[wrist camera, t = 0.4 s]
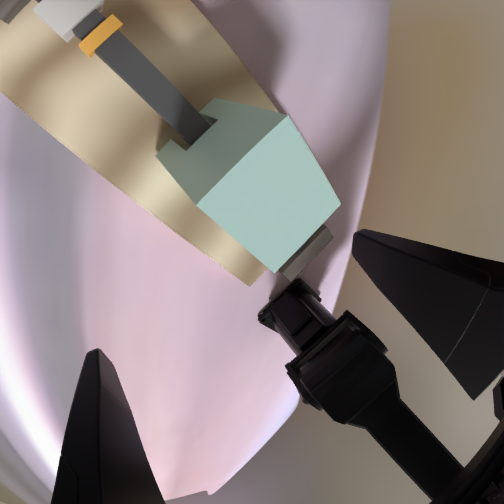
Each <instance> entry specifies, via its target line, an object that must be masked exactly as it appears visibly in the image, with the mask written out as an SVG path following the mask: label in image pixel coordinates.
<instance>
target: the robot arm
mask: <svg viewBox="0 0 504 504" xmlns="http://www.w3.org/2000/svg"><path fill="white" fill-rule="evenodd" d="M352 254H353V257H354V258H355V260H356V261H357V262H358V263H359V265H360V266H361V267H362V268H363V270H364V271H365V272H366V274H367V275H368V276H369V278H370V279H371V280H372V282H373V283H374V284H375V285H376V286H377V288H378V289H379V290H380V291H381V292H382V293H383V294H384V296H385V297H386V298H387V299H388V300H389V301H390V302H391V303H392V304H393V305H394V306H395V307H396V309H397V310H398V311H399V312H400V313H401V314H402V315H403V316H404V318H405V319H406V320H407V321H408V322H409V323H410V324H411V325H412V326H413V328H414V329H415V330H416V331H417V332H418V334H419V335H420V336H421V337H422V338H423V339H424V341H425V342H426V343H427V344H428V345H429V346H430V348H431V349H432V350H433V351H434V352H435V354H436V355H437V356H438V357H439V358H440V360H441V361H442V362H443V363H444V365H445V366H446V367H447V368H448V370H449V371H450V372H451V373H452V375H453V376H454V377H455V378H456V379H457V381H458V382H459V383H460V385H461V386H462V387H463V389H464V390H465V391H466V392H467V394H468V395H469V396H470V398H471V399H472V400H475V399H476V398H477V397H478V396H479V395H480V394H481V393H482V392H483V391H484V390H485V389H486V388H487V387H488V386H489V385H490V384H491V383H492V382H493V381H494V380H495V379H496V378H497V377H498V376H499V375H500V374H501V375H502V377H501V378H500V380H499V381H498V383H497V384H496V386H495V387H494V389H493V398H494V413H495V416H496V417H497V418H498V419H499V420H500V422H499V424H498V425H497V427H496V428H495V430H494V431H493V432H492V434H491V435H490V437H489V438H488V439H487V441H486V442H485V443H484V445H483V446H482V447H481V448H480V450H479V451H478V452H477V453H476V455H475V456H474V457H473V458H472V459H471V461H470V462H469V463H468V464H467V465H466V466H465V468H464V467H463V466H462V465H461V464H460V463H459V462H458V461H457V460H456V459H455V457H454V456H453V455H452V454H451V453H450V452H449V451H448V450H447V449H446V448H445V446H444V445H443V444H442V443H441V442H440V441H439V440H438V439H437V438H436V437H435V436H434V434H433V433H432V432H431V431H430V430H429V429H428V428H427V427H426V426H425V425H424V424H423V423H422V421H420V419H419V418H418V417H417V416H416V415H415V414H414V413H413V412H412V411H411V410H410V409H409V408H408V406H407V405H406V404H405V403H404V402H403V401H402V400H401V399H400V394H399V388H398V382H397V377H396V372H395V367H394V365H393V364H392V363H391V361H390V360H388V359H387V357H386V356H385V355H384V354H385V353H386V352H387V351H388V350H387V348H386V347H385V345H384V344H383V343H382V342H381V341H380V339H379V338H378V337H377V336H376V335H375V334H374V333H373V332H372V331H371V330H370V329H369V328H367V327H366V326H365V325H364V324H363V323H362V322H361V321H359V320H358V319H357V318H356V317H355V316H354V315H353V314H351V313H350V312H349V311H348V310H346V311H345V312H344V313H343V315H342V316H341V317H340V318H339V319H336V318H334V316H333V315H332V314H331V313H330V312H329V311H328V310H327V309H326V308H325V307H324V306H323V305H322V304H321V303H320V302H321V300H322V299H321V298H320V297H319V296H318V295H317V294H316V293H315V292H314V291H313V290H312V289H311V288H310V287H309V286H308V285H307V284H306V283H305V282H304V281H303V280H302V279H301V278H299V279H297V280H296V281H295V282H294V283H293V284H292V285H291V286H290V287H289V288H288V289H287V290H286V291H285V292H284V293H283V294H282V295H281V296H280V297H279V298H278V299H277V300H276V301H275V302H274V303H273V304H272V305H271V306H270V307H269V308H268V309H266V310H265V311H264V312H263V313H262V314H261V315H260V316H259V318H258V321H259V322H260V323H261V324H263V325H265V326H266V327H268V328H270V329H272V330H274V331H275V332H277V333H279V334H280V335H281V337H282V338H283V339H284V340H285V342H286V343H287V344H288V345H289V347H290V348H291V349H292V350H293V352H294V353H295V354H296V355H297V357H295V358H294V359H293V360H292V361H291V362H290V363H289V362H288V363H287V364H286V365H285V367H286V369H287V370H288V371H287V374H288V376H289V377H290V378H291V380H292V381H293V383H294V384H295V386H296V388H297V390H298V392H299V395H300V397H301V399H302V401H303V402H304V403H305V404H310V405H312V406H313V407H315V408H316V409H318V410H319V411H321V410H322V409H324V410H325V411H326V412H327V414H328V415H329V416H330V417H331V418H332V419H333V420H334V421H336V422H339V423H341V424H349V425H352V426H356V427H359V428H363V429H366V430H367V431H368V432H369V433H370V434H371V435H372V437H373V438H374V439H375V440H376V441H377V442H378V443H379V444H380V445H381V447H382V448H383V449H384V450H385V451H386V452H387V453H388V454H389V455H390V456H391V458H392V459H393V460H394V461H395V462H396V463H397V464H398V465H399V466H400V467H401V468H402V469H403V471H404V472H405V473H406V474H407V475H408V476H409V477H410V478H411V479H412V480H413V481H414V482H415V483H416V484H417V485H418V487H419V488H420V489H421V490H422V491H423V492H424V493H425V494H426V495H427V496H428V497H429V498H430V499H431V500H432V502H431V503H429V504H504V263H503V262H499V261H494V260H489V259H484V258H480V257H475V256H471V255H467V254H463V253H460V252H456V251H452V250H448V249H444V248H441V247H437V246H433V245H429V244H425V243H421V242H417V241H413V240H409V239H405V238H401V237H397V236H393V235H389V234H385V233H380V232H376V231H372V230H367V229H361V230H359V231H357V232H355V233H354V235H353V242H352ZM51 504H165V501H164V499H163V497H162V495H161V492H160V490H159V488H158V485H157V483H156V480H155V478H154V475H153V473H152V470H151V468H150V465H149V462H148V460H147V457H146V454H145V451H144V448H143V446H142V443H141V440H140V437H139V434H138V430H137V427H136V424H135V421H134V418H133V415H132V411H131V409H130V406H129V404H128V401H127V399H126V396H125V394H124V391H123V389H122V386H121V383H120V381H119V378H118V375H117V372H116V370H115V367H114V365H113V364H112V362H111V361H110V360H109V359H108V358H107V356H106V355H105V354H104V353H103V352H102V350H101V349H99V348H96V349H94V350H92V351H89V352H88V353H87V354H86V357H85V360H84V363H83V367H82V370H81V373H80V376H79V380H78V383H77V387H76V390H75V394H74V398H73V402H72V405H71V409H70V413H69V417H68V422H67V426H66V430H65V435H64V440H63V445H62V450H61V456H60V460H59V466H58V471H57V476H56V482H55V486H54V491H53V496H52V500H51Z"/></svg>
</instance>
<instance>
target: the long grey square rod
mask: <svg viewBox="0 0 504 504" xmlns="http://www.w3.org/2000/svg"><path fill="white" fill-rule="evenodd" d="M35 1H37V2H38V3H39V4H37V5H36V6H35V7H34V8H33V9H32V10H33V11H34V12H35V13H36V14H37V16H38V17H39V18H40V19H41V20H42V21H43V22H44V23H46V24H47V25H48V26H49V27H50V28H51V29H52V30H54V31H55V32H56V33H57V34H58V35H59V36H60V37H61V38H62V39H64V40H65V41H66V42H67V43H68V42H69V41H70V40H71V39H72V38H73V37H74V36H76V37H77V38H78V39H80V40H81V42H80V43H79V44H78V45H79V47H80V49H81V50H82V51H83V52H84V53H85V54H86V55H88V56H89V57H90V58H91V57H92V56H93V55H94V54H96V55H97V56H98V57H99V58H100V59H101V60H102V61H103V62H105V63H106V64H107V65H108V66H109V67H110V68H111V69H112V70H113V71H114V72H115V73H116V74H117V75H118V76H119V77H120V78H122V79H123V80H124V81H125V82H126V83H127V84H128V85H129V86H130V87H131V88H132V89H133V90H134V91H135V92H136V93H137V94H138V95H139V96H140V97H141V98H142V99H143V100H144V101H145V102H146V103H148V104H149V105H150V106H151V107H152V108H153V109H154V110H155V111H156V112H157V113H158V114H159V115H160V116H161V117H162V118H163V119H164V120H165V121H166V122H167V123H168V124H169V125H170V126H171V127H172V128H173V129H174V130H175V131H176V132H177V133H178V134H179V135H180V136H181V137H182V138H183V139H184V140H185V141H186V142H187V143H188V144H189V145H190V146H192V145H193V144H194V143H195V142H196V141H197V140H198V139H199V138H200V137H201V136H202V135H203V134H204V133H205V132H206V131H207V130H208V129H209V128H210V127H211V126H210V124H209V123H208V122H207V121H206V120H205V119H204V118H203V117H202V116H201V115H200V113H199V112H198V111H197V110H196V109H195V108H194V107H193V106H192V105H191V104H190V103H189V102H188V100H187V99H186V98H185V97H184V96H183V95H182V94H181V93H180V92H179V91H178V90H177V89H176V88H175V87H174V86H173V85H172V83H171V82H170V81H169V80H168V79H167V78H166V77H165V76H164V75H163V74H162V73H161V72H160V71H159V70H158V69H157V68H156V67H155V66H154V65H153V64H152V63H151V62H150V61H149V60H148V59H147V58H146V57H145V56H144V55H143V54H142V53H141V52H140V51H139V50H138V49H137V48H136V47H135V46H134V45H133V44H132V43H131V42H130V41H129V40H128V39H127V38H126V37H125V36H124V35H123V34H122V33H121V32H120V30H121V27H122V25H123V23H122V22H121V21H119V20H118V19H117V18H116V17H115V16H114V15H113V14H112V15H110V16H109V17H108V18H107V19H106V18H105V17H104V16H103V15H102V14H101V13H100V12H102V11H103V5H104V0H35ZM307 243H308V240H307V241H306V242H305V243H304V244H303V245H302V246H301V247H300V248H299V249H298V250H297V251H296V252H295V254H297V253H298V252H299V251H300V250H301V249H302V248H303V247H304V246H305V245H306V244H307Z"/></svg>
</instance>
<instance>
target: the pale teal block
mask: <svg viewBox="0 0 504 504" xmlns="http://www.w3.org/2000/svg"><path fill="white" fill-rule="evenodd" d="M199 113H200V115H201V116H202V117H203V118H204V119H205V120H206V121H207V122H208V123H209V124H210V126H211V127H210V128H209V129H208V130H207V131H206V132H205V133H204V134H203V135H202V136H201V137H200V138H199V139H198V140H197V141H196V142H195V143H194V144H193V145H192V146H191V147H190V148H189V149H188V150H187V151H185V150H184V149H183V148H181V147H180V146H179V145H178V144H176V143H175V142H174V141H173V140H170V141H169V142H168V143H167V144H166V145H165V146H164V147H163V148H162V149H161V150H160V151H159V152H158V153H157V154H156V155H155V156H156V157H157V159H158V160H159V161H160V162H161V163H162V165H163V166H164V167H165V168H166V170H167V171H168V172H169V173H170V174H171V176H172V177H173V178H174V179H175V180H176V182H177V183H178V184H179V185H180V187H181V188H182V189H183V190H184V191H185V193H186V194H187V195H188V196H189V197H190V199H191V200H192V201H193V202H194V203H195V205H196V206H197V207H199V208H200V209H201V210H202V211H203V212H204V213H205V214H207V215H208V216H209V217H210V218H211V219H212V220H213V221H215V222H216V223H217V224H218V225H219V226H220V227H221V228H223V229H224V230H225V231H226V232H227V233H228V234H229V235H231V236H232V237H233V238H234V239H235V240H236V241H237V242H239V243H240V244H241V245H242V246H243V247H244V248H246V249H247V250H248V251H249V252H250V253H251V254H252V255H254V256H255V257H256V258H257V259H258V260H259V261H260V262H262V263H263V264H264V265H265V266H266V267H267V268H268V269H270V270H271V271H272V272H273V273H275V272H276V271H277V270H278V269H279V268H280V267H281V266H282V265H283V264H284V263H285V262H286V261H287V260H288V259H289V258H290V257H291V256H292V255H293V254H294V253H295V252H296V251H297V250H298V249H299V248H300V247H301V246H302V245H303V244H304V243H305V242H306V241H307V239H308V238H309V237H310V236H311V235H312V234H313V233H314V232H315V231H316V230H317V229H318V228H319V227H320V226H321V225H322V224H323V223H324V222H325V221H326V220H327V219H328V218H329V216H330V215H331V214H332V213H333V212H334V211H335V210H336V209H337V208H338V207H339V206H340V205H341V203H340V201H339V199H338V197H337V195H336V194H335V192H334V190H333V188H332V186H331V185H330V183H329V181H328V179H327V178H326V176H325V174H324V172H323V171H322V169H321V167H320V166H319V164H318V162H317V161H316V159H315V157H314V155H313V154H312V152H311V151H310V149H309V147H308V146H307V144H306V142H305V141H304V139H303V138H302V136H301V134H300V133H299V131H298V130H297V128H296V127H295V125H294V123H293V122H292V120H291V119H290V117H289V116H288V115H286V114H282V113H278V112H275V111H271V110H267V109H263V108H259V107H255V106H251V105H246V104H242V103H237V102H233V101H228V100H223V99H218V98H214V99H213V100H212V101H210V102H209V103H208V104H207V105H206V106H205V107H204V108H203V109H202V110H201V111H199Z"/></svg>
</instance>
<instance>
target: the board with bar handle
mask: <svg viewBox="0 0 504 504" xmlns="http://www.w3.org/2000/svg"><path fill="white" fill-rule="evenodd" d="M37 4H39V3H38V2H37V1H35V0H0V92H2V93H3V94H4V95H5V96H6V97H7V98H8V99H10V100H11V101H12V102H13V103H14V104H15V105H17V106H18V107H19V108H20V109H21V110H22V111H24V112H25V113H26V114H27V115H28V116H30V117H31V118H32V119H33V120H34V121H35V122H37V123H38V124H39V125H40V126H41V127H43V128H44V129H45V130H46V131H47V132H49V133H50V134H51V135H52V136H53V137H55V138H56V139H57V140H58V141H60V142H61V143H62V144H63V145H64V146H66V147H67V148H68V149H69V150H71V151H72V152H73V153H74V154H76V155H77V156H78V157H79V158H80V159H82V160H83V161H84V162H85V163H87V164H88V165H89V166H90V167H92V168H93V169H94V170H95V171H97V172H98V173H99V174H101V175H102V176H103V177H104V178H106V179H107V180H108V181H109V182H111V183H112V184H113V185H114V186H116V187H117V188H118V189H120V190H121V191H122V192H123V193H125V194H126V195H127V196H129V197H130V198H131V199H132V200H134V201H135V202H136V203H138V204H139V205H140V206H142V207H143V208H144V209H145V210H147V211H148V212H149V213H151V214H152V215H153V216H155V217H156V218H157V219H159V220H160V221H161V222H163V223H164V224H165V225H166V226H168V227H169V228H170V229H172V230H173V231H174V232H176V233H177V234H178V235H180V236H181V237H182V238H184V239H185V240H186V241H188V242H189V243H190V244H192V245H193V246H195V247H196V248H197V249H199V250H200V251H201V252H203V253H204V254H205V255H207V256H208V257H209V258H211V259H212V260H214V261H215V262H216V263H218V264H219V265H220V266H222V267H223V268H224V269H226V270H227V271H229V272H230V273H231V274H233V275H234V276H236V277H237V278H238V279H240V280H241V281H242V282H244V283H245V284H247V285H248V286H249V287H250V286H251V285H252V284H253V283H254V282H255V281H256V280H257V279H258V278H259V277H260V276H261V275H262V274H263V272H264V271H265V270H266V269H267V267H266V266H265V265H264V264H263V263H262V262H260V261H259V260H258V259H257V258H256V257H255V256H254V255H252V254H251V253H250V252H249V251H248V250H247V249H246V248H244V247H243V246H242V245H241V244H240V243H239V242H237V241H236V240H235V239H234V238H233V237H232V236H231V235H229V234H228V233H227V232H226V231H225V230H224V229H223V228H221V227H220V226H219V225H218V224H217V223H216V222H215V221H213V220H212V219H211V218H210V217H209V216H208V215H207V214H205V213H204V212H203V211H202V210H201V209H200V208H199V207H197V206H196V205H195V203H194V202H193V201H192V200H191V199H190V197H189V196H188V195H187V194H186V193H185V191H184V190H183V189H182V188H181V187H180V185H179V184H178V183H177V182H176V180H175V179H174V178H173V177H172V176H171V174H170V173H169V172H168V171H167V170H166V168H165V167H164V166H163V165H162V163H161V162H160V161H159V160H158V159H157V157H156V156H155V155H156V154H157V153H158V152H159V151H160V150H161V149H162V148H163V147H164V146H165V145H166V144H167V143H168V142H169V141H170V140H173V141H174V142H175V143H176V144H178V145H179V146H180V147H181V148H183V149H184V150H185V151H187V150H188V149H189V148H190V147H191V146H190V145H189V144H188V143H187V142H186V141H185V140H184V139H183V138H182V137H181V136H180V135H179V134H178V133H177V132H176V131H175V130H174V129H173V128H172V127H171V126H170V125H169V124H168V123H167V122H166V121H165V120H164V119H163V118H162V117H161V116H160V115H159V114H158V113H157V112H156V111H155V110H154V109H153V108H152V107H151V106H150V105H149V104H148V103H146V102H145V101H144V100H143V99H142V98H141V97H140V96H139V95H138V94H137V93H136V92H135V91H134V90H133V89H132V88H131V87H130V86H129V85H128V84H127V83H126V82H125V81H124V80H123V79H122V78H120V77H119V76H118V75H117V74H116V73H115V72H114V71H113V70H112V69H111V68H110V67H109V66H108V65H107V64H106V63H105V62H103V61H102V60H101V59H100V58H99V57H98V56H97V55H96V54H94V55H93V56H92V57H91V58H90V57H89V56H88V55H86V54H85V53H84V52H83V51H82V50H81V49H80V47H79V45H78V44H79V43H80V42H81V40H80V39H78V38H77V37H76V36H74V37H73V38H72V39H71V40H70V41H69V42H68V43H67V42H66V41H65V40H64V39H62V38H61V37H60V36H59V35H58V34H57V33H56V32H55V31H54V30H52V29H51V28H50V27H49V26H48V25H47V24H46V23H44V22H43V21H42V20H41V19H40V18H39V17H38V16H37V14H36V13H35V12H34V11H33V10H32V9H33V8H34V7H35V6H36V5H37ZM100 13H101V14H102V15H103V16H104V17H105V18H106V19H107V18H108V17H109V16H110V15H112V14H113V15H114V16H115V17H116V18H117V19H118V20H119V21H121V22H122V23H123V25H122V27H121V30H120V32H121V33H122V34H123V35H124V36H125V37H126V38H127V39H128V40H129V41H130V42H131V43H132V44H133V45H134V46H135V47H136V48H137V49H138V50H139V51H140V52H141V53H142V54H143V55H144V56H145V57H146V58H147V59H148V60H149V61H150V62H151V63H152V64H153V65H154V66H155V67H156V68H157V69H158V70H159V71H160V72H161V73H162V74H163V75H164V76H165V77H166V78H167V79H168V80H169V81H170V82H171V83H172V85H173V86H174V87H175V88H176V89H177V90H178V91H179V92H180V93H181V94H182V95H183V96H184V97H185V98H186V99H187V100H188V102H189V103H190V104H191V105H192V106H193V107H194V108H195V109H196V110H197V111H198V112H199V111H201V110H202V109H203V108H204V107H205V106H206V105H207V104H208V103H209V102H210V101H212V100H213V99H214V98H218V99H223V100H228V101H233V102H237V103H242V104H246V105H251V106H255V107H259V108H263V109H267V110H271V111H275V112H278V111H277V109H276V108H275V106H274V105H273V103H272V102H271V101H270V99H269V98H268V96H267V95H266V94H265V92H264V91H263V89H262V88H261V87H260V85H259V84H258V82H257V81H256V80H255V78H254V77H253V76H252V74H251V73H250V72H249V70H248V69H247V68H246V66H245V65H244V64H243V63H242V61H241V60H240V59H239V57H238V56H237V55H236V54H235V52H234V51H233V50H232V49H231V47H230V46H229V45H228V44H227V42H226V41H225V40H224V39H223V37H222V36H221V35H220V34H219V33H218V31H217V30H216V29H215V28H214V27H213V25H212V24H211V23H210V22H209V21H208V20H207V18H206V17H205V16H204V15H203V14H202V13H201V12H200V10H199V9H198V8H197V7H196V6H195V5H194V4H193V3H192V2H191V1H190V0H104V5H103V11H102V12H100ZM278 113H279V112H278ZM333 238H334V237H333V236H332V234H331V233H330V231H329V230H328V228H327V227H326V226H325V225H323V224H322V225H321V226H320V227H319V228H318V229H317V230H316V231H315V232H314V233H313V234H312V235H311V236H310V237H309V238H308V239H307V240H308V243H307V244H306V245H305V246H304V247H303V248H302V249H301V250H300V251H299V252H298V253H297V254H295V253H294V254H293V255H292V256H291V257H290V258H289V259H288V260H287V261H286V262H285V263H284V264H283V265H282V266H281V267H280V268H279V269H278V270H279V271H280V272H281V273H282V274H283V275H284V276H285V277H286V278H287V279H288V280H289V281H290V282H291V281H292V280H293V279H294V278H295V277H296V276H297V275H298V274H299V273H300V272H301V271H302V270H303V269H304V268H305V267H306V266H307V265H308V264H309V263H310V262H311V261H312V260H313V259H314V258H315V257H316V256H317V254H318V253H319V252H320V251H321V250H322V249H323V248H324V247H325V246H326V245H327V244H328V243H329V242H330V241H331V240H332V239H333Z"/></svg>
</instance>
